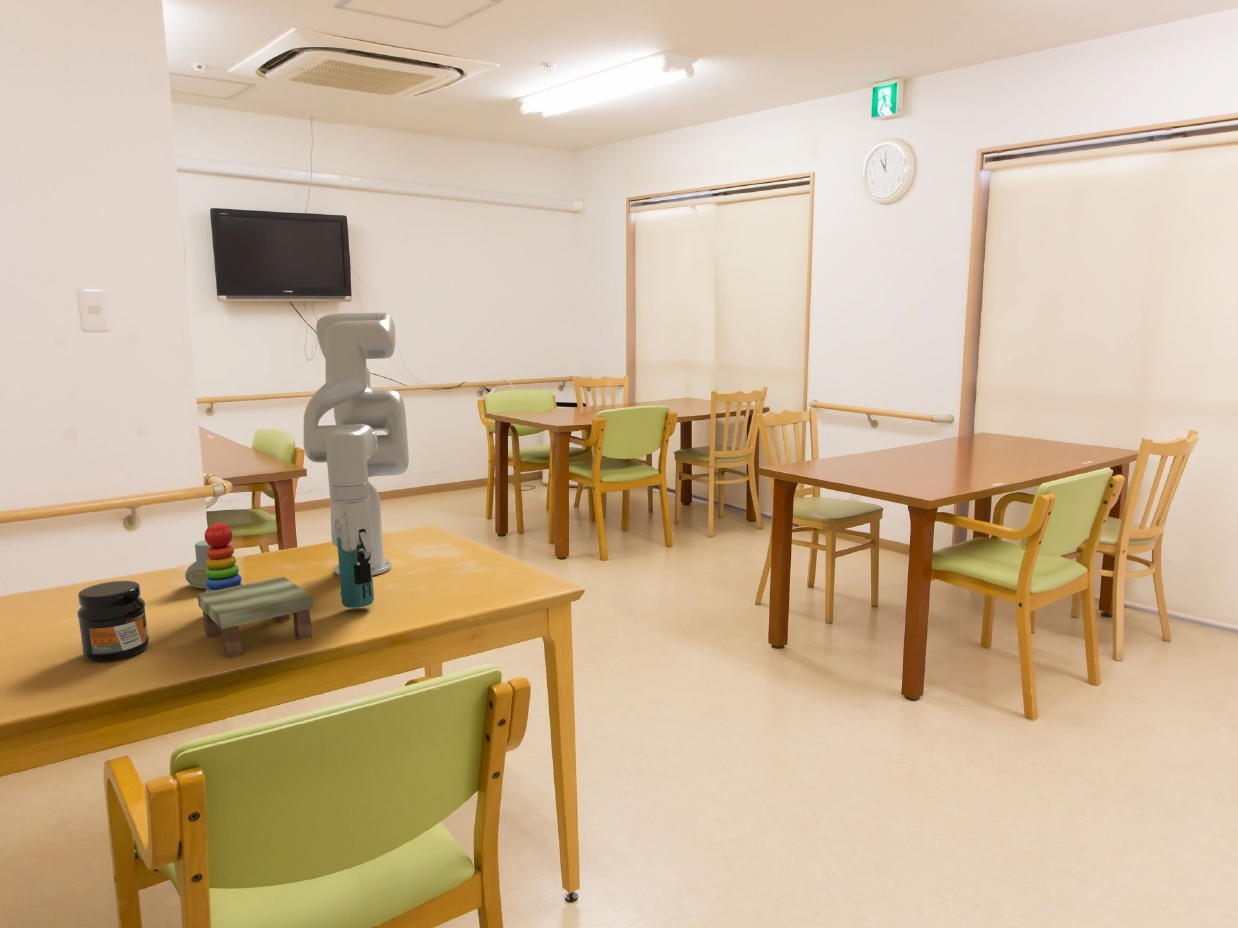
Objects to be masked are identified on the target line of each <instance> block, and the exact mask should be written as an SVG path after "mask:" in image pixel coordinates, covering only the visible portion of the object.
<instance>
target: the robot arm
mask: <svg viewBox="0 0 1238 928" xmlns="http://www.w3.org/2000/svg"><path fill="white" fill-rule="evenodd" d="M315 329H316V330H315V331H316V336H317V341H318V346H319V348H320V350H321V353H322V355H323V358H324V360H325V362H324V364H325V383H323V385H322V386H320V388H318V389H317V391H315V393H314V394H313V396H312V397H311V398H310V399H309V402H308V403H307V405H306V407H305V410H304V413H303V450H304V453H305V457H306V458H307V459H308V460H310V461H311V462H313V463H318V464H319V463H326V465H327V478H328V489H329V492H328V493H329V501H330V502H331V503H330V505H331V506H330V525H331V527H330V530H331V531H330V532H331V533H330V535H331V543H332V544H333V546H335V547H337V540H336V538H337V537H339V538H340V539H341V541H342V542H341V544H342V549H343V550H344V551H346V552H349V553H350V552H353V556H354V560H355V564H356V565H354V578H355V584H356V585H360V584H364V583H369V582H371V572H372V576H376V575H380V574H383V573H386V572H388V571H389V570H390V569H391V568H392V561H390V560H389V559H387V558H385V554H384V542H383V541H384V540H383V527H382V524H383V523H382V513H381V511H382V510H381V500H380V495H379V492H378V490H377V489H376V487H375V486H374V485H373V484H372V483H371V482H370V481H369V478H373V477H387V476H399V475H402V474H404V473H405V472H406V471H407V470H408V468H409V460H410V459H409V456H410V455H409V444H408V429H407V417H406V416H407V415H406V407H405V403H404V399H403V397H402V395H401V394H400V393H399V392H398V391H397V390H394V389H372V388H371V374H370V370H369V368H368V367H367V360H375V359H377V360H381V359H389V358H391V357H392V356H393V355H394V352H395V349H396V326H395V322H394V319H393V317H392V316H391V315H390V314H389V313H386V312H347V313H346V312H341V313H340V312H339V313H331V314H330V313H329V314H326V315H323V316H321V317H320V318H319V319H317V321H316V326H315ZM330 410H333V416H334V417H333V418H334V422H335V424H331V425H330V424H329V425H328V424H327V425H319V422H320V419H322V417H323V415H325V414H326V413H328V412H329V411H330ZM378 431H383V432H385V433H386V434H377V432H378ZM361 545H362V548H360V549H356V548H357V546H361ZM359 552H363V553H362V554H360V556H358V553H359ZM370 563H371V568H370ZM371 569H372V570H371ZM334 570H335V574H337V575H338V576H340V574H339V571H338V570H339V563H338V564H337V565H336V566H335V567H334Z"/></svg>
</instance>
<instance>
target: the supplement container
mask: <svg viewBox="0 0 1238 928" xmlns="http://www.w3.org/2000/svg"><path fill="white" fill-rule="evenodd" d="M140 587H141V586H140V584H139V583H138V582H136V581H131V580H115V581H107V582H102V583H97V584H94V585H90V586H88V587H85V588H83V589H81V590H80V591H79V592H78V594H77V598H78V604H79V606H80V607H79V608H78V610H77V612H76V614H77V616H76V617H77V619H78V622H79V630H80V639H81V643H82V644H81V645H82V646H81V647H82V654H83V656H84V658H86V659H87V660H89V661H92V662H97V661H98V662H100V661H101V662H103V661H107V662H114V661H120V660H124V658H125V659H128V658H131V657H133V656H136V655H138V654H140V653H141V652H143V651H144V650H146V649H147V648H148V646H149V645H150V636H149V632H148V625H147V616H146V609H145V608H146V602H145V600H144V599H143V598H142V597H141V588H140Z"/></svg>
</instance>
